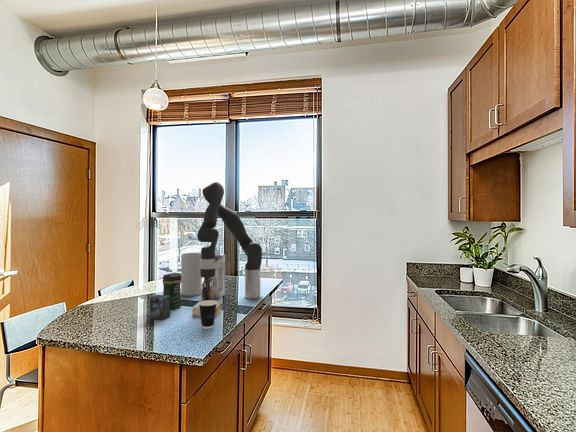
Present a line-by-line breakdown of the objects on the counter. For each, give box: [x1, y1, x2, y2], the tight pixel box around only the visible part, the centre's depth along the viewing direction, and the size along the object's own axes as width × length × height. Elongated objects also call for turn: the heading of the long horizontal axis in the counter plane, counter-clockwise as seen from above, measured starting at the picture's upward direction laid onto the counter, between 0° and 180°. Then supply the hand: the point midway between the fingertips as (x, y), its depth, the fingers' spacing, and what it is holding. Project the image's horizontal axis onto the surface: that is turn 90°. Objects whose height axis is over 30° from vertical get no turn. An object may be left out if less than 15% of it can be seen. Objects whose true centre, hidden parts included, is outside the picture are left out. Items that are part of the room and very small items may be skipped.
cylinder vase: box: [180, 252, 203, 297], centre depth 206 cm, size 12×12×25 cm
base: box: [192, 300, 223, 317], centre depth 168 cm, size 12×12×4 cm
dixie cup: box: [198, 300, 217, 330], centre depth 147 cm, size 8×8×11 cm
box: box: [149, 294, 171, 321], centre depth 159 cm, size 8×6×11 cm
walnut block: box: [201, 287, 215, 301], centre depth 168 cm, size 5×5×7 cm
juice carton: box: [212, 251, 226, 299], centre depth 200 cm, size 9×10×27 cm
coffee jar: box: [162, 272, 182, 311], centre depth 176 cm, size 10×8×19 cm
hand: (207, 300), depth 168 cm, fingers closed on walnut block, 4 cm apart
